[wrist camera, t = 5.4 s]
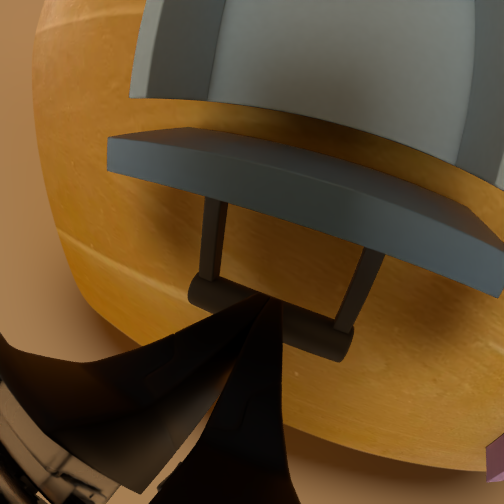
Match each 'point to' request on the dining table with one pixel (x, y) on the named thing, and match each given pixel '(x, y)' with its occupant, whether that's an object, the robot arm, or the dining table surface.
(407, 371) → the dining table surface
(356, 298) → the drawer
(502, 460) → the cube
